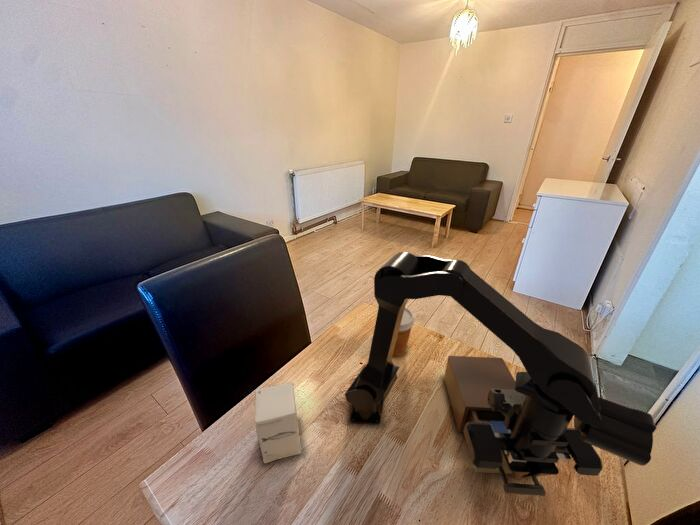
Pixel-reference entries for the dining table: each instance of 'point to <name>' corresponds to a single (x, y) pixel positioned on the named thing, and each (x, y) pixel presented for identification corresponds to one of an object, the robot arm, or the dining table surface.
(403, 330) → the orange tub
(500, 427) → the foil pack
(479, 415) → the drawer
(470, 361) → the cabinet
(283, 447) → the white packaging box
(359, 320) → the dining table surface
